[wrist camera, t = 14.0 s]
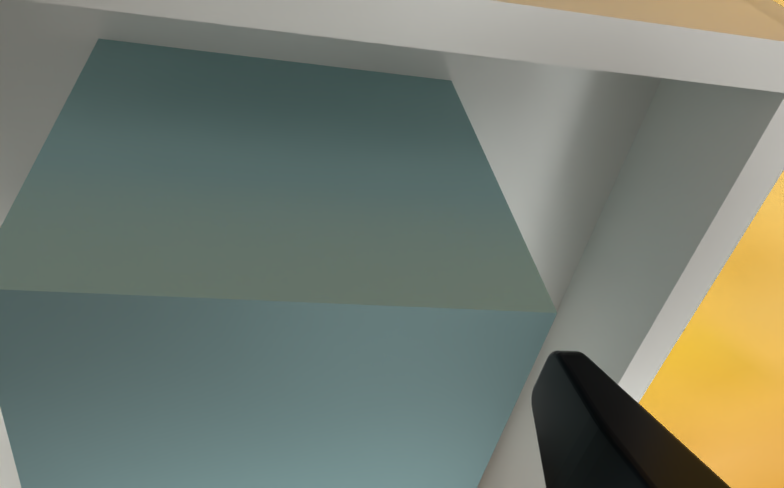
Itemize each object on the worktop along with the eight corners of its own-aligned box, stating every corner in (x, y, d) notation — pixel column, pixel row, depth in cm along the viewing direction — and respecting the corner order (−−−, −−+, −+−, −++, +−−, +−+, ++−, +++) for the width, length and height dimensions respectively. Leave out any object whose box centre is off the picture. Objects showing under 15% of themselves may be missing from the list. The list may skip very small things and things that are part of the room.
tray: (449, 544, 21) (474, 666, 19) (0, 562, 19) (-46, 708, 16) (709, -39, 11) (857, 52, 8) (-269, -201, 8) (-553, -147, 5)
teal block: (451, 80, 10) (557, 312, 6) (390, 315, 13) (438, 570, 9) (98, 38, 9) (-32, 288, 5) (120, 305, 12) (48, 589, 8)
